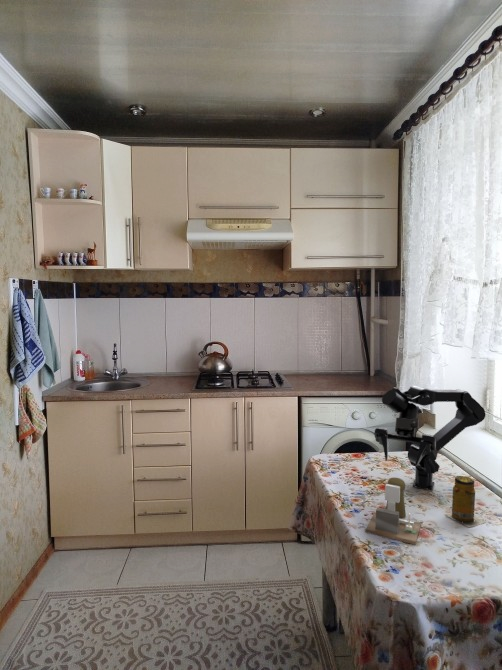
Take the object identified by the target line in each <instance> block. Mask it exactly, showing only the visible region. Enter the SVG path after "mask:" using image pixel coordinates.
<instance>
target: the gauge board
mask: <svg viewBox="0 0 502 670" xmlns="http://www.w3.org/2000/svg"><path fill="white" fill-rule="evenodd" d="M399 519H401V518H399V512H396V511H392V510H387V509H386V508H382V507H378V506H377V507H376V510H375V512H373V514H372V516H371V518H370V519H369V521H368V523H367V525H366V527H365V528H364V532H365V533H367V534H372V535H376V536H380V537H384V538H387V539H392V540H396V541H400V542H404V543H408V544H412V545H416V544H417V542H418V538H419V535H420V531H421V528H422V523H421V522H418V521H414V520H412V521H413V522H414V526H412V525H410V526H412V531H409V530H406V525H407V524H403V523H399ZM403 519H404V520H406V519H405V518H403Z"/></svg>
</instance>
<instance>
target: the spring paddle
mask: <svg viewBox="0 0 502 670" xmlns="http://www.w3.org/2000/svg"><path fill="white" fill-rule="evenodd" d="M384 500H385V501H386V502H387V501H388V507H387V510H392V511H395V502H396V503H399V502H400V486H395V485H390V484H387V483H385V488H384ZM404 519H405V518H403V519H399V523H403V524H407V525H408V519H405V520H404ZM413 521H414V520H410V525H412V526H414V522H415V521H414V522H413Z"/></svg>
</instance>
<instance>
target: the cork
mask: <svg viewBox="0 0 502 670" xmlns="http://www.w3.org/2000/svg"><path fill="white" fill-rule="evenodd" d="M386 484H390V485H395V486H400V502H399V503H396V502H395V511H396V512H399V518H401V519H405V518H406V517H407V516H406V514H407V513H406V506H405V504H406V503H405V495H404V491H405V490H406V482H405V480H403V479H402V478H400V477H391V478H389V479H387V483H386ZM385 505H386V506H385V509H387V507H388V501H387V500H386V504H385Z"/></svg>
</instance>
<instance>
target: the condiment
mask: <svg viewBox="0 0 502 670" xmlns="http://www.w3.org/2000/svg"><path fill="white" fill-rule="evenodd" d="M451 503H452V504H451V512H450V513H445V514H444V515H445V516H446V517H448V518H451V519H452V520H454V521H456V522H458V523H460V524H462V525H463V526H466V527H468V528H471V527H472V528H473V527H476V526H479V525H482V524H485V523H486V521H484V520H482V519H481V518H478V517H477V516H475V506H476V505H475V503H476V489H475V480H474V479H473V478H471V477H470V476H464V475H457V476H455V478H454V485H453V487H452V501H451Z"/></svg>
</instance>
